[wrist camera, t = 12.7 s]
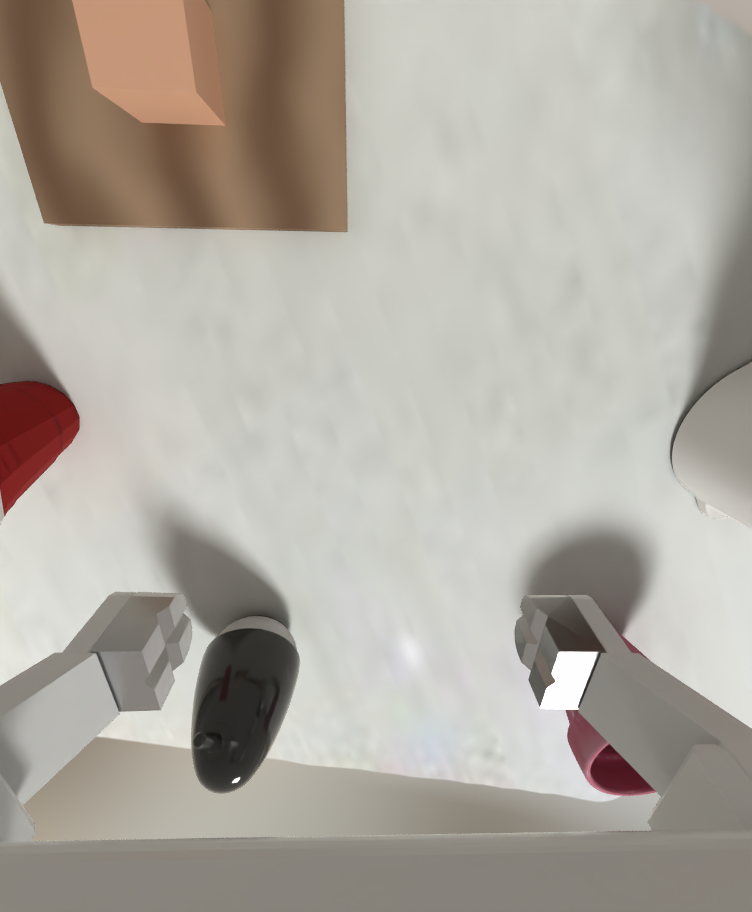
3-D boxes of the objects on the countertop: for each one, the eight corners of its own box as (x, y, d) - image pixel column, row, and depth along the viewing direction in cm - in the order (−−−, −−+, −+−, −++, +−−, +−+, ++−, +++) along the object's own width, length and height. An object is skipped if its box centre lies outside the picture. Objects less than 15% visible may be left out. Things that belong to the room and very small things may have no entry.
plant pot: (663, 617, 48) (761, 726, 36) (606, 688, 54) (675, 801, 42) (562, 599, 46) (632, 711, 34) (513, 675, 51) (560, 792, 40)
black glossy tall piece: (286, 591, 43) (256, 743, 29) (314, 652, 47) (299, 808, 33) (199, 610, 43) (128, 768, 29) (235, 668, 48) (188, 829, 34)
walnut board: (342, -107, 21) (341, -133, 20) (347, 231, 28) (347, 230, 27) (-47, -136, 20) (-76, -165, 18) (59, 225, 27) (44, 223, 25)
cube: (211, 12, 22) (174, -56, 17) (225, 125, 24) (196, 92, 19) (119, 7, 21) (57, -63, 17) (142, 122, 23) (92, 87, 19)
